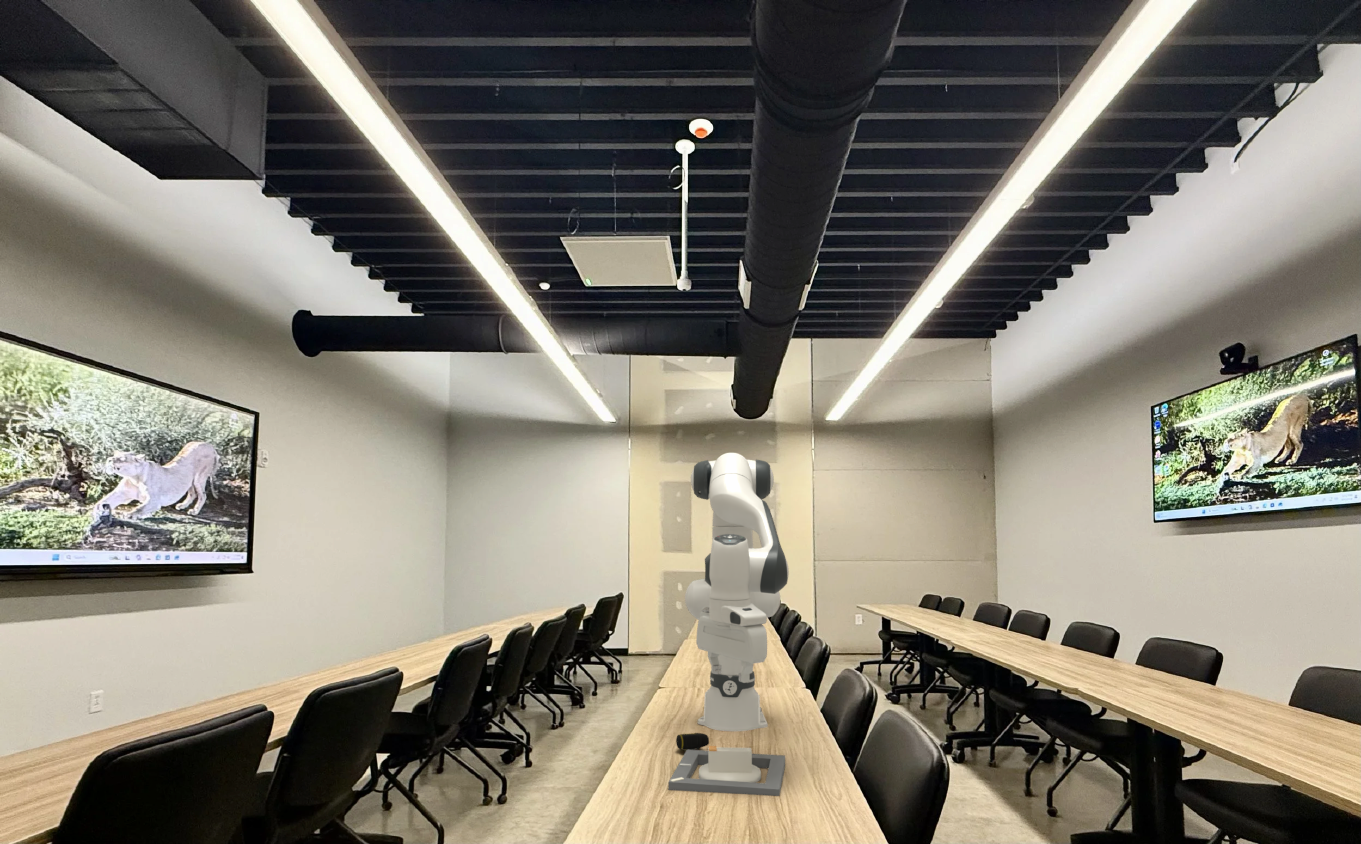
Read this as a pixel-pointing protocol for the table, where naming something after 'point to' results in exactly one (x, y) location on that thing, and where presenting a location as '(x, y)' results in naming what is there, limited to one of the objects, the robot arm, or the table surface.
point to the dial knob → (730, 765)
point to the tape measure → (692, 741)
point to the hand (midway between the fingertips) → (729, 677)
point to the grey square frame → (698, 757)
